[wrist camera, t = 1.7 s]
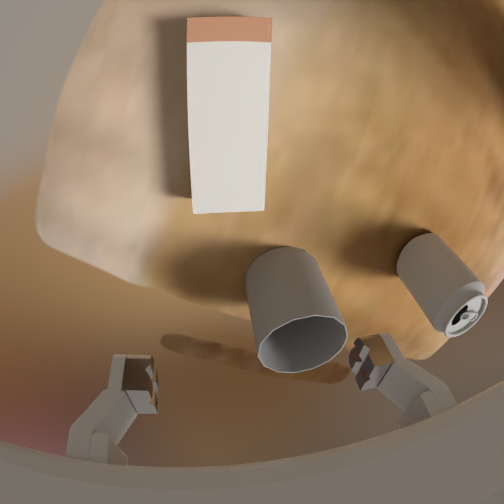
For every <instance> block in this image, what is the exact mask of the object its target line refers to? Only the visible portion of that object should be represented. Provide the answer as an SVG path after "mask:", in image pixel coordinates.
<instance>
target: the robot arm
mask: <svg viewBox="0 0 504 504" xmlns="http://www.w3.org/2000/svg"><path fill="white" fill-rule="evenodd" d="M354 345H355V347H354V348H353V349H351V351H350V353H349V366H350V368H351V370H352V371H353V372H354V373H356V377H355V380H356V382H357V385H358V387H359V389H360V391H363V390H367V389H371V388H376V387H377V388H378V390H379V391H381V392H382V393H383V394H384V395H385V396H386V397H388V398H389V399H390V400H391V401H392V402H393V403H394V404H396V405H397V406H398V407H399V408H400V409H401V410H403V411H404V412H405V413H404V414H403V416H401V418H400V419H399V421H398V424H399V426H400V429H398V430H395V431H392V432H390V433H387V434H384V435H381V436H377V437H374V438H371V439H368V440H365V441H361V442H357V443H354V444H350V445H346V446H343V447H339V448H335V449H330V450H326V451H322V452H317V453H312V454H308V455H302V456H298V457H292V458H286V459H280V460H273V461H266V462H258V463H250V464H240V465H228V466H213V467H182V468H181V467H175V468H174V467H172V468H171V467H143V466H128V465H127V456H126V455H125V454H124V453H123V452H122V451H121V450H120V449H119V448H118V446H117V444H118V443H119V441H120V440H121V438H122V437H123V435H124V434H125V433H126V431H127V429H128V428H129V426H130V425H131V424H132V422H133V421H134V419H135V417H136V416H137V413H140V414H141V413H143V414H148V413H151V414H153V413H158V398H157V394H156V392H157V391H158V389H159V382H158V381H159V380H158V372H157V368H156V367H155V366H154V359H153V356H149V355H148V356H147V355H114V357H113V359H112V365H111V371H110V377H109V384H108V390H104V391H103V392H102V393H101V394H100V395H99V396H98V397H97V398H96V399H95V401H94V402H93V403H92V404H91V405H90V406H89V407H88V408H87V409H86V411H85V412H84V413H83V414H82V415H81V416H80V417H79V418H78V420H77V421H76V422H75V423H74V424H73V425H72V426H71V427H70V432H69V440H68V446H67V454H66V457H63V456H58V455H53V454H48V453H44V452H39V451H35V450H31V449H28V448H24V447H20V446H17V445H13V444H10V443H7V442H4V441H1V440H0V504H504V381H502V382H500V383H498V384H496V385H495V386H493V387H491V388H489V389H487V390H486V391H484V392H482V393H480V394H478V395H476V396H475V397H472V398H470V399H468V400H466V401H464V402H462V403H461V404H458V405H457V404H456V402H455V400H454V398H453V396H452V394H451V393H450V391H449V389H448V387H447V385H446V384H445V383H444V382H442V381H441V380H439V379H437V378H436V377H434V376H433V375H431V374H430V373H428V372H427V371H425V370H424V369H422V368H420V367H419V366H417V365H416V364H414V363H413V362H411V361H410V360H408V359H407V360H405V359H404V357H403V355H402V353H401V352H400V350H399V348H398V346H397V345H396V343H395V341H394V339H393V338H392V336H391V334H390V333H388V332H386V333H381V334H374V335H369V336H364V337H359V338H357V339H355V342H354Z"/></svg>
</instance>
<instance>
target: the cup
mask: <svg viewBox="0 0 504 504" xmlns="http://www.w3.org/2000/svg"><path fill="white" fill-rule="evenodd" d="M245 287H246V292H247V298H248V304H249V310H250V316H251V321H252V327H253V332H254V338H255V344H256V350H257V355H258V358H259V359H260V361H261V362H262V364H263V365H264V367H267V368H269V369H271V370H274V371H276V372H285V373H297V372H301V371H306V370H310V369H314V368H316V367H318V366H320V365H322V364H324V363H326V362H328V361H330V360H331V359H332V358H333V357H334V356H335V355H337V354H338V353H339V352H340V351H341V350H342V349H343V347H344V344H345V342H346V340H347V338H348V334H347V328H346V324H345V322H344V320H343V318H342V316H341V313H340V311H339V309H338V307H337V305H336V303H335V300H334V298H333V296H332V294H331V292H330V290H329V288H328V285H327V283H326V281H325V279H324V277H323V275H322V273H321V271H320V269H319V267H318V265H317V263H316V260H315V259H314V258H313V257H312V256H311V255H310V254H309V253H307V252H306V251H305V250H303V249H299V248H294V247H290V246H287V247H281V248H275V249H271V250H269V251H267V252H266V253H264V254H262V255H261V256H259V257H257V258H256V259H255V260H254V262H253V263H252V264H251V266H250V267H249V268H248V270H247V272H246V281H245Z"/></svg>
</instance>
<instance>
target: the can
mask: <svg viewBox="0 0 504 504" xmlns="http://www.w3.org/2000/svg"><path fill="white" fill-rule="evenodd" d="M397 273H398V275H399V277H400V279H401V280H402V282H403V283H404V284H405V286H406V287H407V289H408V290H409V291H410V293H411V294H412V296H413V297H414V299H415V300H416V302H417V303H418V305H419V306H420V307H421V309H422V310H423V312H424V313H425V315H426V316H427V318H428V319H429V321H430V323H431V324H432V326H433V327H434V329H435V330H436V331H438V332H444V333H445V336H447V337H456V336H459V335H461V334H462V333H464V332H466V331H467V330H468V329H469V328H471V327H472V326H473V325H474V324H475V323H476V322H477V321H478V320H479V319H480V317H481V316H482V314H483V313H484V311H485V309H486V306H487V302H488V301H487V297H486V296H485V295H484V293H485V290H484V285H483V284H482V282H481V281H480V280H479V279H478V278H477V276H476V275H475V274H474V273H473V272H472V271H471V270H470V269H469V268H468V266H467V265H466V264H465V263H464V262H463V261H462V260H461V259H460V258H459V257H458V256H457V255H456V254H455V253H454V251H453V250H452V249H451V248H450V247H449V246H448V245H447V244H446V243H445V242H444V241H443V240H442V239H441V238H440V237H439V236H438V235H436V234H433V233H427V234H423V235H420V236H417V237H415V238H413V239H412V240H411V241H409V242H408V243H407V244H406V246H405V247H404V248H403V250H402V252H401V253H400V256H399V259H398V262H397Z"/></svg>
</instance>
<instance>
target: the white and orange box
mask: <svg viewBox="0 0 504 504" xmlns="http://www.w3.org/2000/svg"><path fill="white" fill-rule="evenodd" d="M271 37H272V18H263V17H194V18H187V105H188V135H189V156H190V174H191V190H192V205H193V214H202V213H222V212H246V211H264V205H265V183H266V161H267V137H268V113H269V87H270V59H271Z"/></svg>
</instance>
